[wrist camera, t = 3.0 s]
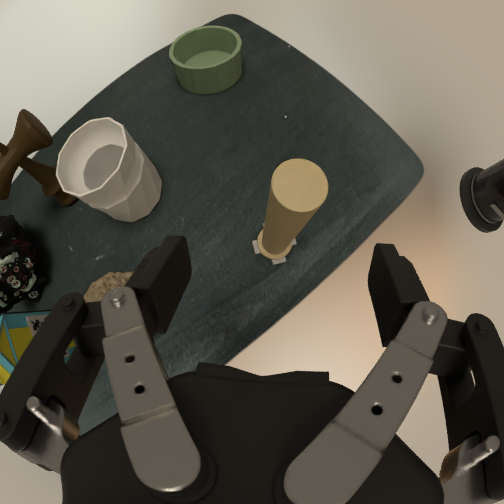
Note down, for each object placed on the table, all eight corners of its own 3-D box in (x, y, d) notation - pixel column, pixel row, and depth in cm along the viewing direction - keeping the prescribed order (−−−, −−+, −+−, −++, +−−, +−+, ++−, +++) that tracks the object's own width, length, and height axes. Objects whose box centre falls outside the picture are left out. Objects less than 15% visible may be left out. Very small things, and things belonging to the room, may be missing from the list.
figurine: (-1, 277, 34) (23, 337, 30) (-50, 224, 22) (-42, 291, 17) (38, 241, 39) (68, 295, 35) (-2, 179, 26) (15, 234, 22)
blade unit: (288, 218, 35) (329, 135, 15) (299, 258, 34) (358, 219, 14) (248, 228, 34) (241, 152, 15) (258, 268, 34) (265, 242, 14)
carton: (56, 372, 32) (-29, 403, 14) (39, 323, 33) (-52, 332, 15) (90, 361, 32) (-2, 397, 15) (70, 308, 33) (-28, 313, 15)
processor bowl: (246, 51, 38) (245, 25, 32) (238, 95, 37) (235, 69, 31) (186, 51, 38) (179, 27, 32) (170, 95, 37) (160, 70, 31)
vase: (94, 196, 35) (44, 165, 23) (137, 150, 36) (99, 104, 24) (130, 237, 34) (80, 215, 23) (176, 187, 35) (144, 144, 23)
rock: (125, 246, 31) (124, 280, 25) (169, 291, 36) (180, 330, 29) (72, 295, 31) (63, 336, 24) (117, 333, 36) (119, 375, 29)
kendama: (102, 178, 36) (12, 107, 16) (59, 226, 35) (-43, 188, 15) (84, 155, 36) (3, 85, 16) (44, 200, 35) (-47, 156, 15)
